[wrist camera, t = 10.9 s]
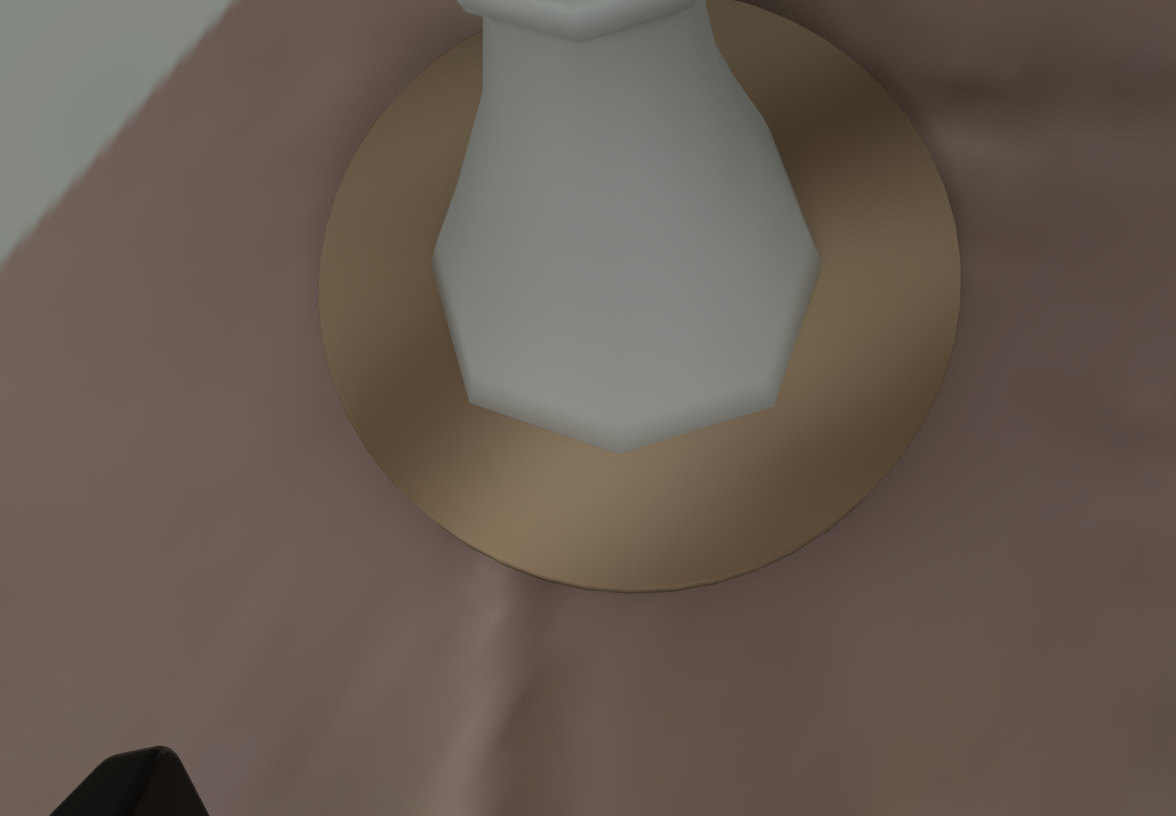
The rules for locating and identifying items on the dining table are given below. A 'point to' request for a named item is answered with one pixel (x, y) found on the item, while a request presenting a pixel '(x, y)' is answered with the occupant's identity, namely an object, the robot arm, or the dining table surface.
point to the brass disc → (692, 460)
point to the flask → (619, 227)
